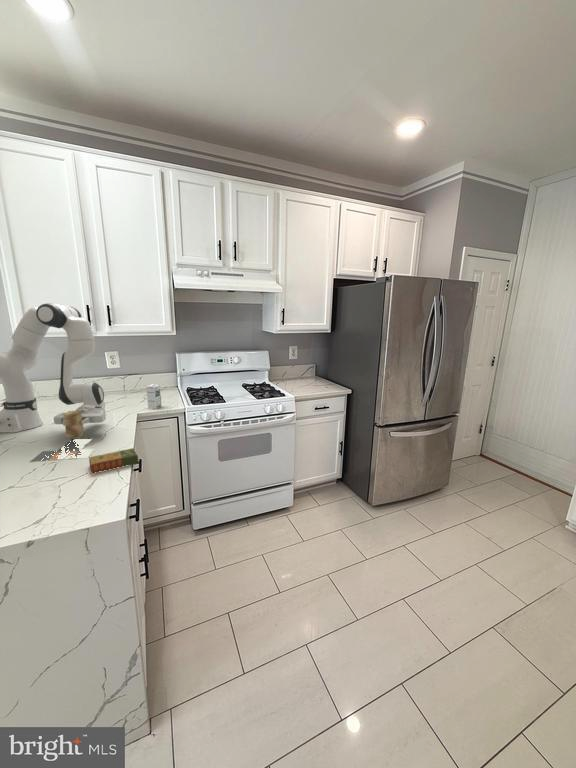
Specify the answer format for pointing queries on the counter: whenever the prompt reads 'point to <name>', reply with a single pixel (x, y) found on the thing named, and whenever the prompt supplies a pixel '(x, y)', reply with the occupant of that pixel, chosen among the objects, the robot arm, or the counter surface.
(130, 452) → the carton
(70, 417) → the oak block
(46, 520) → the counter surface
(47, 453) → the t mat
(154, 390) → the syrup box
